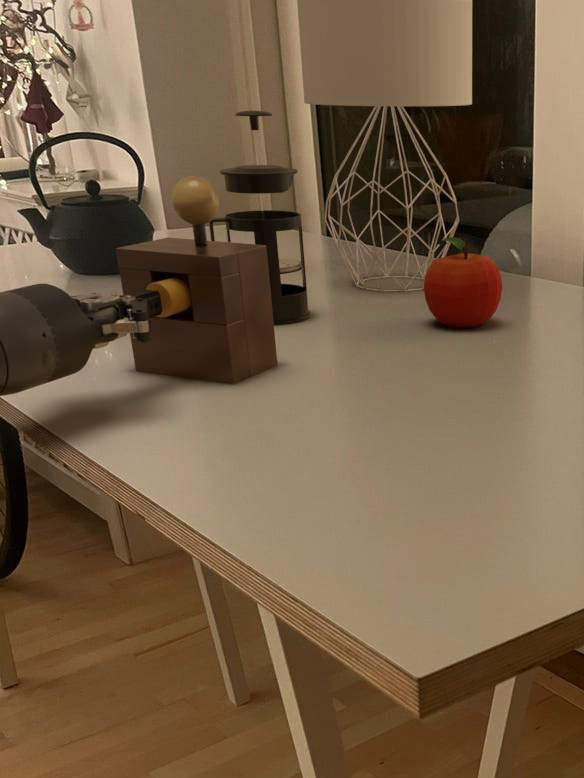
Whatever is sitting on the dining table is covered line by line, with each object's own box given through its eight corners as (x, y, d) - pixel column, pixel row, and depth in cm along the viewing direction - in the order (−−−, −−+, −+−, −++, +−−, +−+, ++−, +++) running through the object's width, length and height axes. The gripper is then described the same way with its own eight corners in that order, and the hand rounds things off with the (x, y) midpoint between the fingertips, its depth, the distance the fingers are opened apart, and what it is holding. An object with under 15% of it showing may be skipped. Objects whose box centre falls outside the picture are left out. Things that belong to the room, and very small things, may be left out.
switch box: (233, 385, 98) (210, 184, 89) (135, 372, 102) (103, 178, 93) (277, 366, 104) (260, 176, 95) (184, 354, 108) (158, 171, 99)
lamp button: (174, 319, 94) (169, 284, 93) (147, 316, 95) (141, 281, 94) (193, 313, 97) (189, 278, 95) (167, 310, 98) (162, 276, 96)
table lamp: (325, 270, 153) (304, -41, 133) (469, 270, 154) (469, -39, 134) (309, 299, 134) (282, -60, 114) (474, 299, 135) (475, -57, 115)
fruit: (475, 337, 116) (475, 246, 111) (409, 326, 121) (407, 239, 116) (516, 322, 123) (519, 236, 118) (453, 313, 128) (453, 230, 123)
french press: (309, 307, 130) (294, 109, 118) (321, 323, 122) (306, 112, 110) (217, 312, 126) (193, 109, 115) (224, 329, 119) (198, 112, 107)
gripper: (71, 299, 76) (207, 264, 90) (-57, 285, 80) (91, 254, 94) (90, 396, 80) (218, 348, 93) (-34, 378, 84) (106, 335, 98)
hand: (154, 301), depth 94 cm, fingers closed
